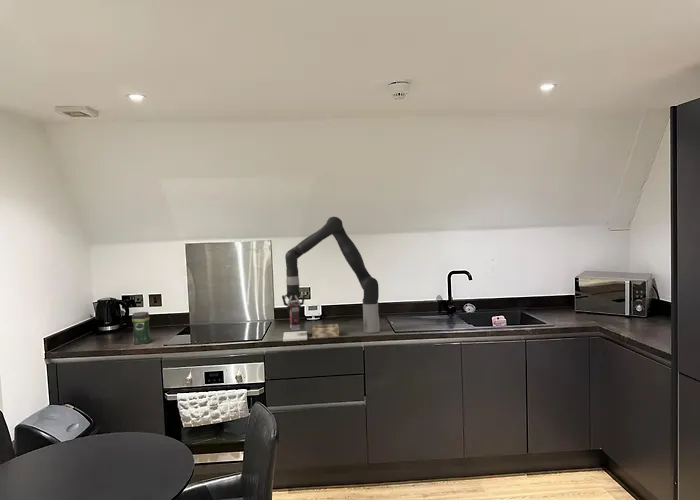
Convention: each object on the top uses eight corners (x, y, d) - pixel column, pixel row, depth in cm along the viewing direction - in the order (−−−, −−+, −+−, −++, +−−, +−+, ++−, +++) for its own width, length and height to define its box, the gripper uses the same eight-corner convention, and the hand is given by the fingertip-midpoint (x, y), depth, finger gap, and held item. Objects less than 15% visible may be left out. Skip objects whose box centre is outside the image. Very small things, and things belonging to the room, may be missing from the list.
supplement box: (289, 327, 318) (288, 301, 317) (297, 326, 319) (296, 300, 318) (292, 330, 310) (291, 303, 309) (300, 329, 311) (299, 302, 310)
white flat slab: (306, 332, 325) (306, 331, 325) (307, 339, 305) (307, 338, 305) (284, 334, 324) (283, 332, 324) (282, 341, 304) (282, 339, 304)
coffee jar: (152, 341, 320) (150, 310, 319) (149, 343, 312) (147, 312, 311) (135, 342, 319) (133, 311, 318) (132, 345, 311) (130, 313, 310)
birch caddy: (337, 332, 323) (337, 324, 322) (339, 336, 311) (338, 327, 311) (312, 333, 321) (312, 325, 321) (312, 337, 310) (312, 329, 310)
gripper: (280, 285, 309) (281, 313, 309) (305, 283, 310) (306, 312, 311) (280, 283, 316) (282, 311, 317) (305, 282, 317) (306, 310, 318)
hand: (294, 312), depth 314 cm, fingers closed on supplement box, 5 cm apart
